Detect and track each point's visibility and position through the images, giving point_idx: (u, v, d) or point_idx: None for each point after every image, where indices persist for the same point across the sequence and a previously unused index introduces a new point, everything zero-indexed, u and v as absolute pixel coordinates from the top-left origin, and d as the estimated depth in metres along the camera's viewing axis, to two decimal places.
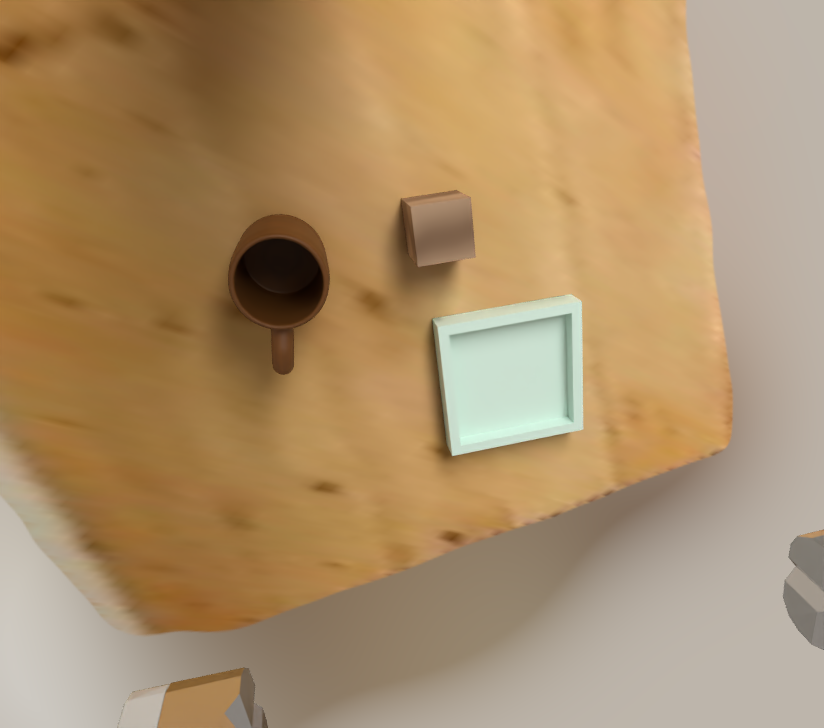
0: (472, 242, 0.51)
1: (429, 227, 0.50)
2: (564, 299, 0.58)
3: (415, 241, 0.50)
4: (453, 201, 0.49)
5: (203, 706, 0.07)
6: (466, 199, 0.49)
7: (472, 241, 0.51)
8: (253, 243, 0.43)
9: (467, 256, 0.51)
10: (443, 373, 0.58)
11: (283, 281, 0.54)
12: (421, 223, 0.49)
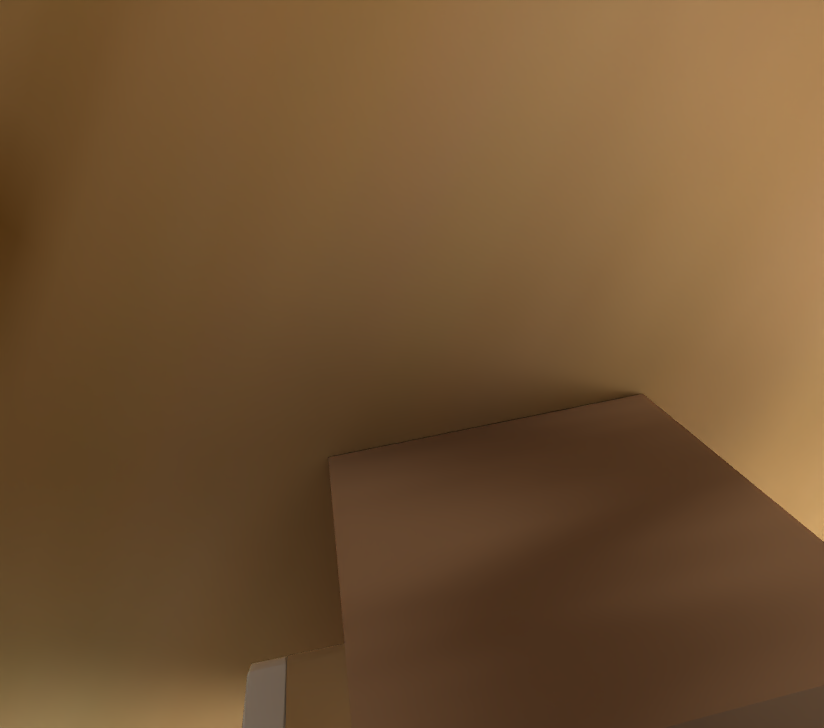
0: None
1: None
2: None
3: None
4: None
5: (328, 676, 0.07)
6: None
7: None
8: None
9: None
10: None
11: None
12: None
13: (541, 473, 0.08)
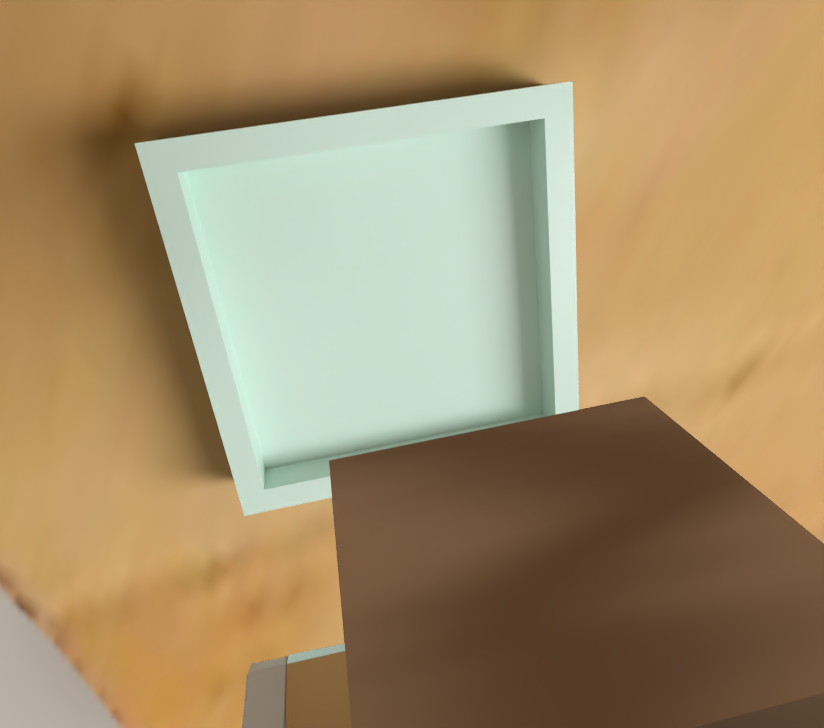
0: None
1: None
2: None
3: None
4: None
5: (328, 676, 0.07)
6: None
7: None
8: None
9: None
10: (430, 104, 0.19)
11: None
12: None
13: (543, 476, 0.08)
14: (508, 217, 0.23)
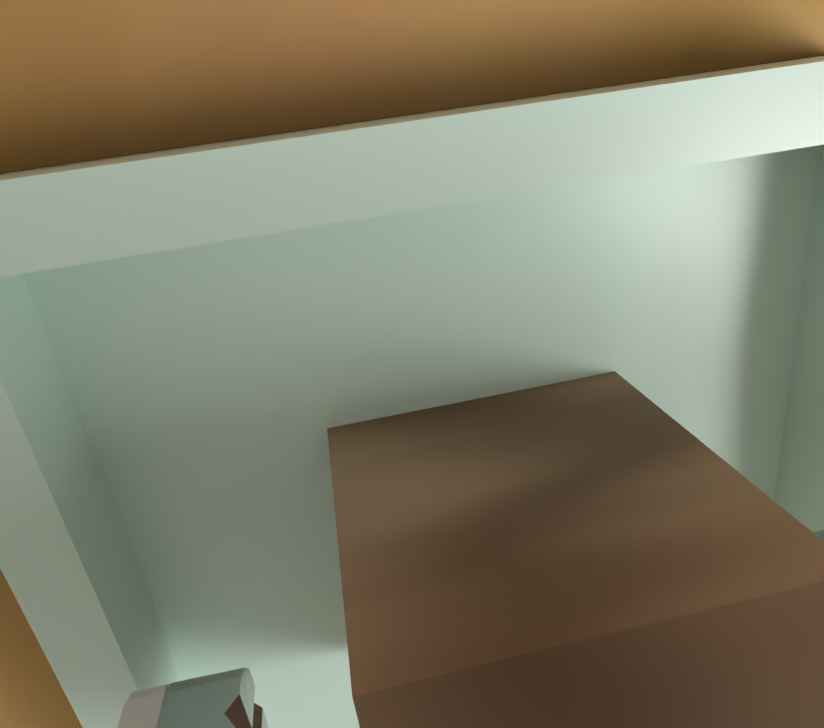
0: None
1: (670, 713, 0.06)
2: None
3: (578, 637, 0.06)
4: None
5: (203, 706, 0.07)
6: None
7: None
8: None
9: None
10: (645, 93, 0.07)
11: None
12: (719, 658, 0.06)
13: (519, 439, 0.09)
14: (746, 339, 0.11)
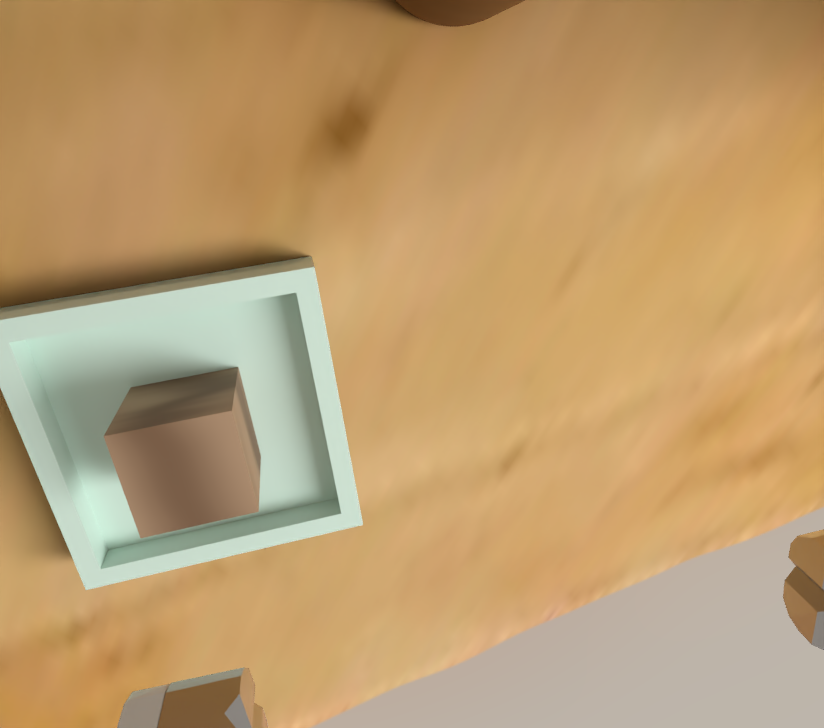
0: (171, 528, 0.26)
1: (192, 449, 0.25)
2: None
3: (160, 425, 0.24)
4: (248, 484, 0.26)
5: (203, 706, 0.07)
6: (254, 505, 0.26)
7: (173, 527, 0.26)
8: None
9: (140, 524, 0.26)
10: (204, 286, 0.26)
11: None
12: (200, 433, 0.25)
13: (186, 387, 0.28)
14: (288, 354, 0.30)
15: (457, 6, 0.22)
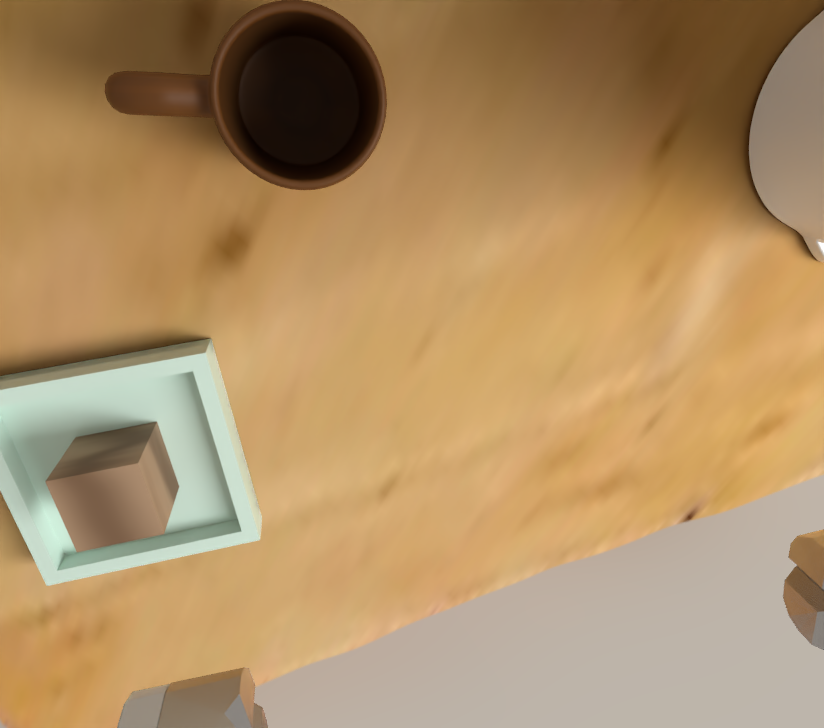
0: (99, 545, 0.35)
1: (110, 490, 0.34)
2: (257, 514, 0.42)
3: (86, 473, 0.34)
4: (154, 514, 0.35)
5: (203, 707, 0.07)
6: (160, 529, 0.36)
7: (100, 545, 0.36)
8: (371, 58, 0.25)
9: (76, 542, 0.35)
10: (123, 368, 0.35)
11: (258, 101, 0.33)
12: (116, 479, 0.34)
13: (114, 440, 0.37)
14: (195, 412, 0.39)
15: None
